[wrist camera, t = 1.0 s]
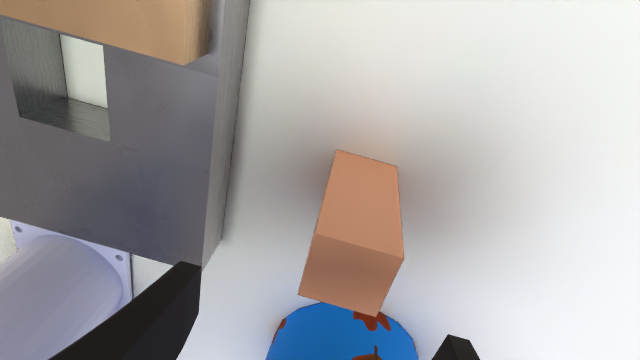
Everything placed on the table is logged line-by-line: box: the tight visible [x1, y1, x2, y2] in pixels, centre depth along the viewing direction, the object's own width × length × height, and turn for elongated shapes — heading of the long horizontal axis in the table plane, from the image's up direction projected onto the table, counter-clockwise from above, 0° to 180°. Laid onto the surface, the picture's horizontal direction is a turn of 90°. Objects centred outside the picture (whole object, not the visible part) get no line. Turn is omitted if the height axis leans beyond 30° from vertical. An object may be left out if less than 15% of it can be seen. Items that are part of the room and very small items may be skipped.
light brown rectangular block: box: [298, 150, 404, 317], centre depth 16 cm, size 3×3×7 cm
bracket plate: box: [0, 0, 250, 273], centre depth 16 cm, size 18×14×5 cm
